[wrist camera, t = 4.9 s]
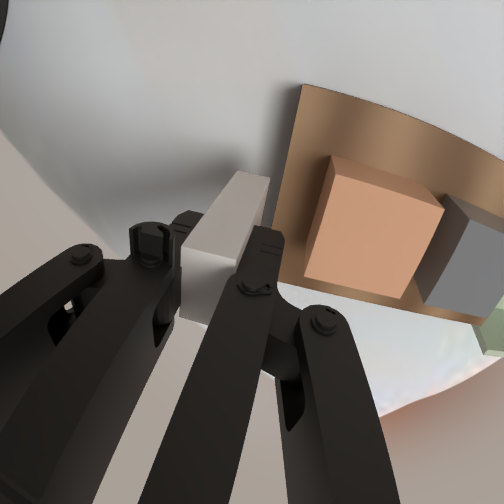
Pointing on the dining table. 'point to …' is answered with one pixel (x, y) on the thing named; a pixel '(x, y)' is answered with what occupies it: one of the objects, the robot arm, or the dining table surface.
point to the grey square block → (463, 260)
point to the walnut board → (381, 157)
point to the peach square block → (369, 228)
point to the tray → (492, 332)
